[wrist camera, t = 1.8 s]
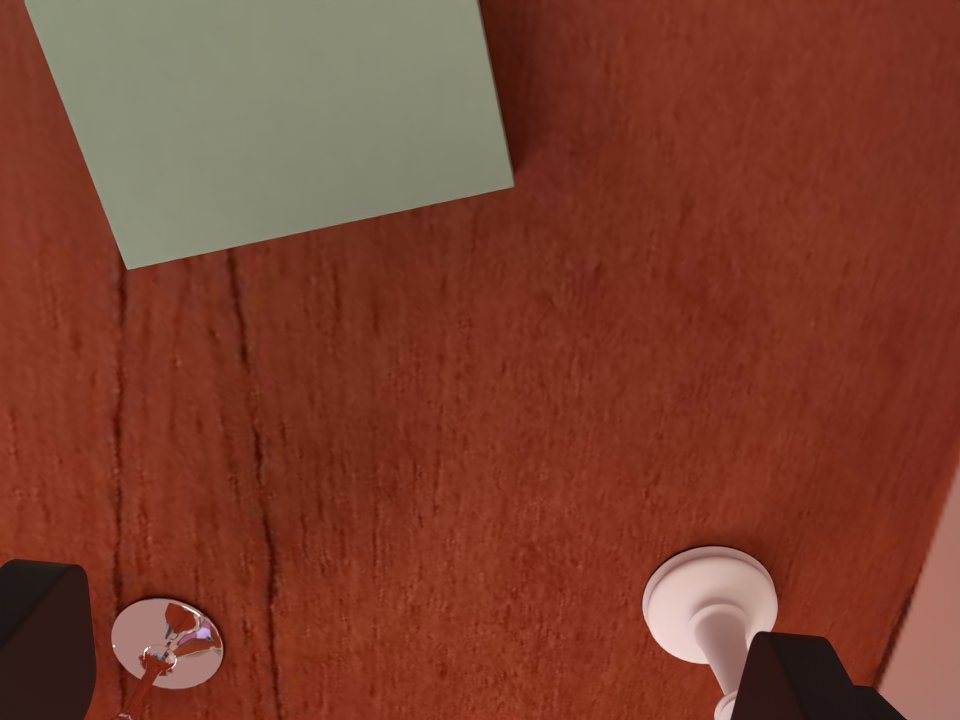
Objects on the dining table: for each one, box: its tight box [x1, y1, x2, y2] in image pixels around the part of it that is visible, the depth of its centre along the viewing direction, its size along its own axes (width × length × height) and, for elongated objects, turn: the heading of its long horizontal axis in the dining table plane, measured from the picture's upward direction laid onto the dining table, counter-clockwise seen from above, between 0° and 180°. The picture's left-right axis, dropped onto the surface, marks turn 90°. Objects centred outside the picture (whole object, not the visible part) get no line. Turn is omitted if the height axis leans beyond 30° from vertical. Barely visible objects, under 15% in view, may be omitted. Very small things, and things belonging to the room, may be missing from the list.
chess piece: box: [642, 546, 778, 720], centre depth 26 cm, size 5×5×10 cm
